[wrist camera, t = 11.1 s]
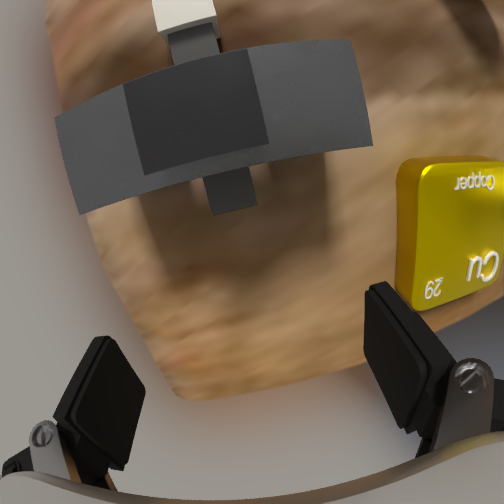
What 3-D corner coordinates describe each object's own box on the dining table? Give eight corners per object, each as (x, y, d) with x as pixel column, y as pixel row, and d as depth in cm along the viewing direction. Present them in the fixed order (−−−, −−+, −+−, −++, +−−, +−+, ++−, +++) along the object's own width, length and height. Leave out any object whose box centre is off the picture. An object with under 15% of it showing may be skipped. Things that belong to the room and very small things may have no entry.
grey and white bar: (211, 3, 16) (205, -24, 12) (259, 192, 23) (264, 207, 19) (165, 15, 17) (150, -8, 12) (212, 203, 24) (206, 221, 19)
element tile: (488, 155, 22) (516, 162, 18) (479, 268, 28) (501, 284, 24) (392, 158, 23) (420, 165, 18) (391, 295, 29) (411, 319, 24)
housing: (308, 73, 19) (374, 21, 8) (322, 140, 22) (402, 150, 10) (117, 120, 20) (21, 118, 9) (134, 184, 22) (51, 232, 11)
